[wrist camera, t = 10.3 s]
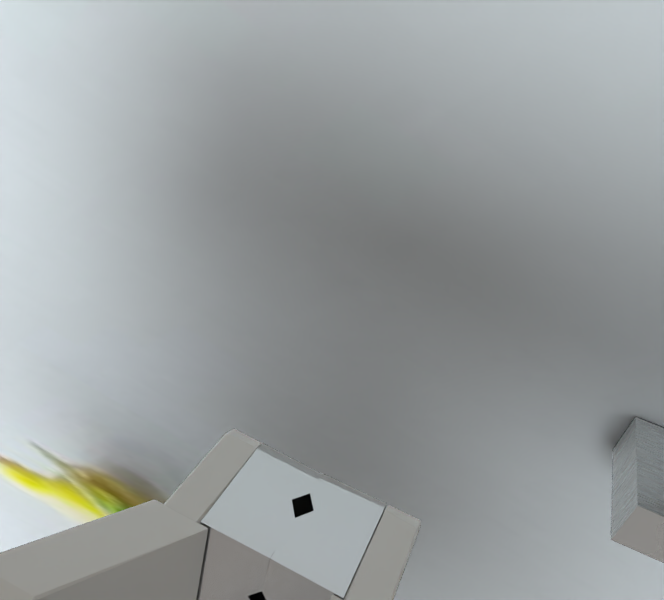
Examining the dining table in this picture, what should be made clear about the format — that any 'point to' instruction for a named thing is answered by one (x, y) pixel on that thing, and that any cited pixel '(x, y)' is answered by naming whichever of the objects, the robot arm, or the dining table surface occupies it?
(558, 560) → the dining table surface
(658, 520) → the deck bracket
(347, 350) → the dining table surface
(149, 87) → the dining table surface
